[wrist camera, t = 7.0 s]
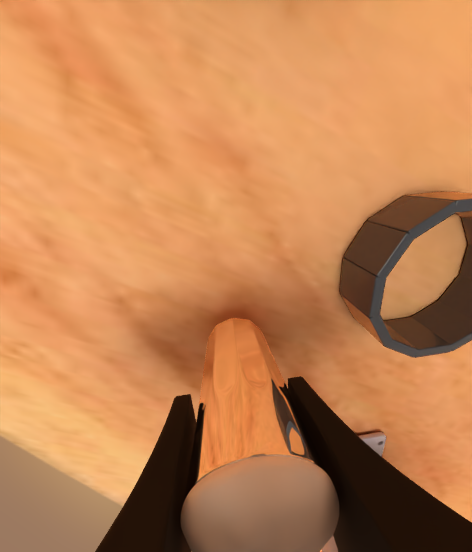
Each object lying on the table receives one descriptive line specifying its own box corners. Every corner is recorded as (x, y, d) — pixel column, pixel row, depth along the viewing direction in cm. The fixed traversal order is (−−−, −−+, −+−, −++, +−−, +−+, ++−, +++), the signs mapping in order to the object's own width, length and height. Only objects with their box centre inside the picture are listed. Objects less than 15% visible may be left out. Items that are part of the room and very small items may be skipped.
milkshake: (178, 364, 15) (123, 678, 6) (219, 294, 13) (237, 568, 4) (242, 387, 16) (285, 675, 7) (287, 325, 14) (421, 590, 5)
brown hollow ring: (452, 317, 18) (500, 344, 15) (334, 334, 17) (361, 366, 14) (493, 186, 15) (567, 188, 12) (347, 200, 14) (387, 206, 11)
